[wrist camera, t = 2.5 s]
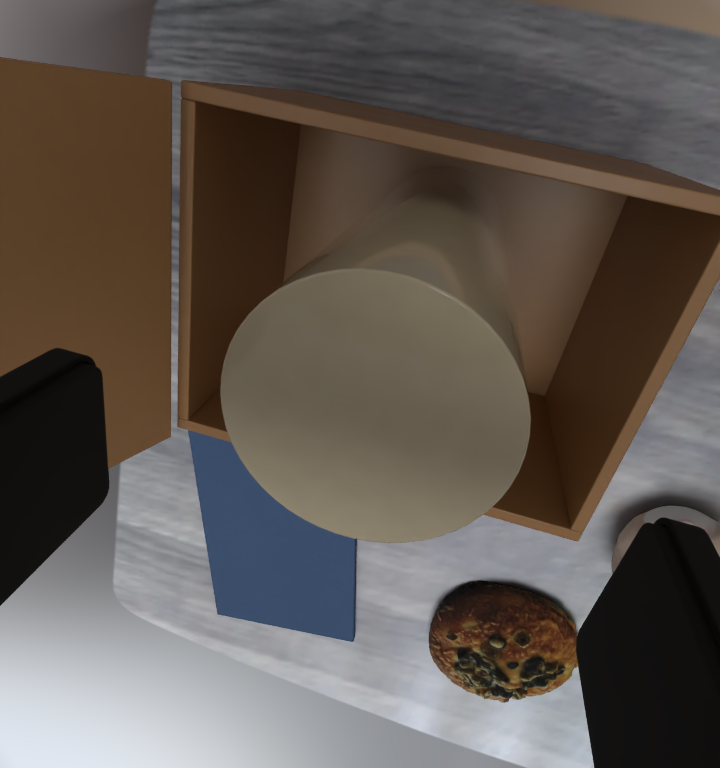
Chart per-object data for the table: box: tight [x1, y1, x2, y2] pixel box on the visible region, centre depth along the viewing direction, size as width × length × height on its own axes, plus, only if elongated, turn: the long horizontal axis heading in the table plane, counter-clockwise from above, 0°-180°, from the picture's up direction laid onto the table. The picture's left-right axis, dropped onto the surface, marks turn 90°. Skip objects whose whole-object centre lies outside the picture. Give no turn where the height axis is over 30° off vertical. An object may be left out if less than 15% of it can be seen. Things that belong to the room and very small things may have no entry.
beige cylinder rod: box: [220, 166, 531, 543], centre depth 19 cm, size 6×6×19 cm
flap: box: [0, 57, 172, 469], centre depth 15 cm, size 8×13×1 cm
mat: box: [188, 430, 357, 642], centre depth 40 cm, size 20×12×1 cm, turn 179°
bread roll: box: [429, 581, 578, 702], centre depth 39 cm, size 11×11×5 cm
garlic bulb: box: [612, 506, 720, 573], centre depth 30 cm, size 7×6×8 cm
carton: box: [177, 80, 720, 541], centre depth 23 cm, size 17×13×12 cm
